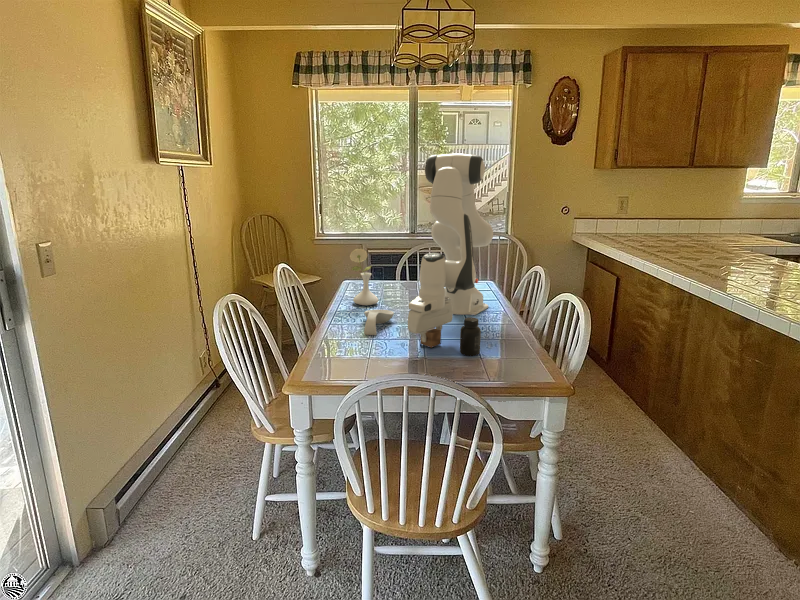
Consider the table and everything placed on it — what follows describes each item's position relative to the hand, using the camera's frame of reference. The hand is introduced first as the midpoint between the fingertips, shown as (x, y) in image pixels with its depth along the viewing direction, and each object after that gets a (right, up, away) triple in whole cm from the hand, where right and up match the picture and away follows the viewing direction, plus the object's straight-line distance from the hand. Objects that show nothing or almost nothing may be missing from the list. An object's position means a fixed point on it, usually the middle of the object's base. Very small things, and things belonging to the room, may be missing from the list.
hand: (430, 339), depth 176 cm
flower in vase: (-27, +12, +50) cm, 58 cm away
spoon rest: (-20, +3, +21) cm, 29 cm away
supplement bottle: (+13, -4, -6) cm, 15 cm away
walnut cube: (0, -2, 0) cm, 2 cm away
